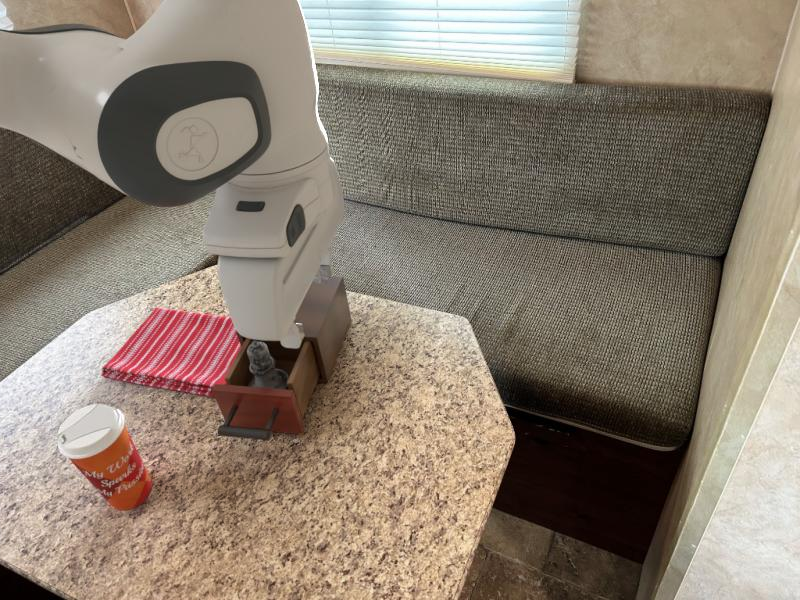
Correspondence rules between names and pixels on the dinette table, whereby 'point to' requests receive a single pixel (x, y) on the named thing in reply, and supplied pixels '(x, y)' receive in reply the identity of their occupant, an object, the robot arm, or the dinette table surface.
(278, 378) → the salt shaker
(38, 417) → the dinette table surface
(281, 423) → the drawer
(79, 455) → the paper cup
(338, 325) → the cabinet
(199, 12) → the robot arm
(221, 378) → the dish towel
